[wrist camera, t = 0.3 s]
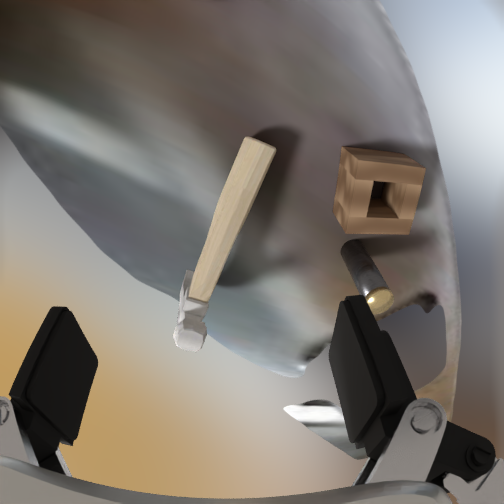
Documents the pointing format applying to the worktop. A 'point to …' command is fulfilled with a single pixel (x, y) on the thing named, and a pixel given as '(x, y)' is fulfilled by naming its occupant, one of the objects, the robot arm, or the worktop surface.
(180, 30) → the worktop surface
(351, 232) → the socket block
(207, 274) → the hammer
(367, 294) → the dark grey capped cylinder
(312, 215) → the worktop surface
